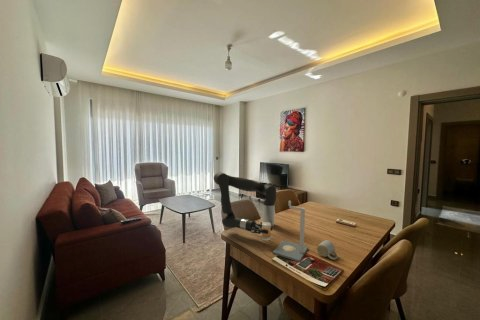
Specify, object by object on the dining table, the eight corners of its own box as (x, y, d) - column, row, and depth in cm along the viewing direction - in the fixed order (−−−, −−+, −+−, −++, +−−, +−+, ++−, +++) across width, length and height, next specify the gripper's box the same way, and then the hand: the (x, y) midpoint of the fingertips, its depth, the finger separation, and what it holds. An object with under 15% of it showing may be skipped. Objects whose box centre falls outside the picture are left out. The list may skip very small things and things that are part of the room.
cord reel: (264, 235, 136) (264, 221, 135) (272, 237, 133) (272, 223, 132) (260, 239, 131) (260, 224, 130) (268, 241, 128) (268, 226, 127)
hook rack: (283, 241, 135) (284, 196, 133) (307, 248, 126) (309, 200, 124) (272, 253, 119) (273, 202, 118) (299, 262, 111) (301, 207, 109)
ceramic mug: (315, 254, 119) (316, 241, 119) (322, 249, 124) (323, 238, 124) (333, 262, 111) (334, 249, 111) (339, 257, 116) (340, 244, 116)
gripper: (242, 223, 133) (265, 228, 124) (252, 216, 145) (274, 221, 136) (242, 234, 134) (265, 240, 124) (252, 226, 146) (274, 232, 136)
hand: (270, 230), depth 130 cm, fingers closed on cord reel, 5 cm apart
